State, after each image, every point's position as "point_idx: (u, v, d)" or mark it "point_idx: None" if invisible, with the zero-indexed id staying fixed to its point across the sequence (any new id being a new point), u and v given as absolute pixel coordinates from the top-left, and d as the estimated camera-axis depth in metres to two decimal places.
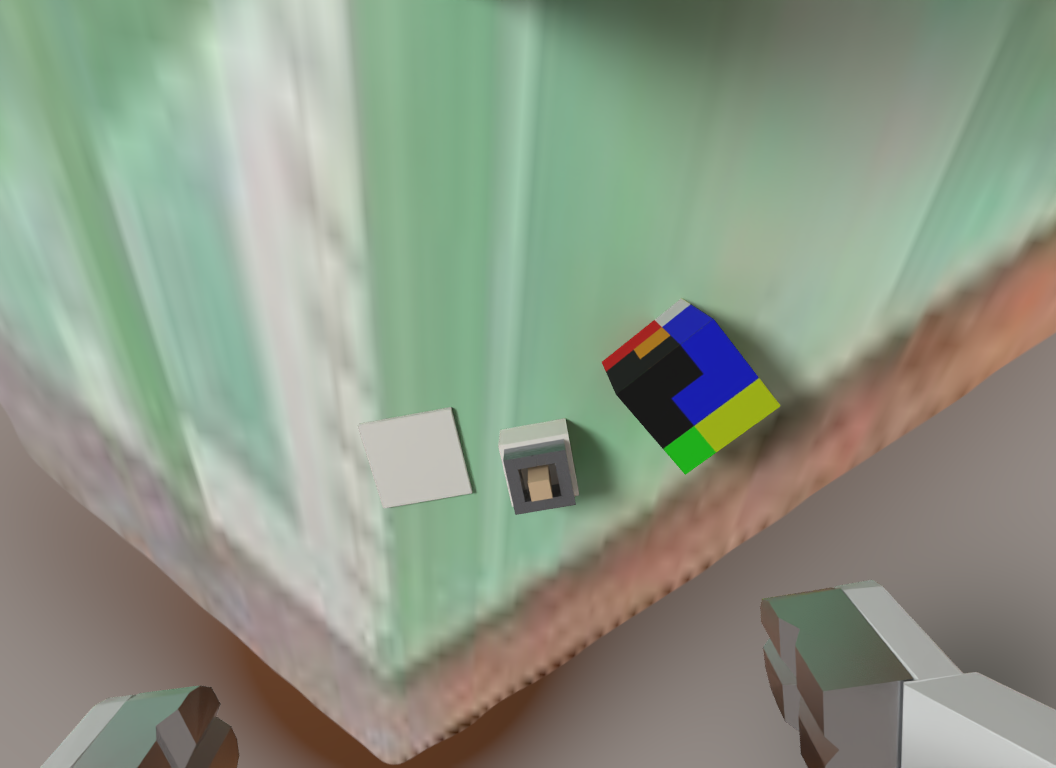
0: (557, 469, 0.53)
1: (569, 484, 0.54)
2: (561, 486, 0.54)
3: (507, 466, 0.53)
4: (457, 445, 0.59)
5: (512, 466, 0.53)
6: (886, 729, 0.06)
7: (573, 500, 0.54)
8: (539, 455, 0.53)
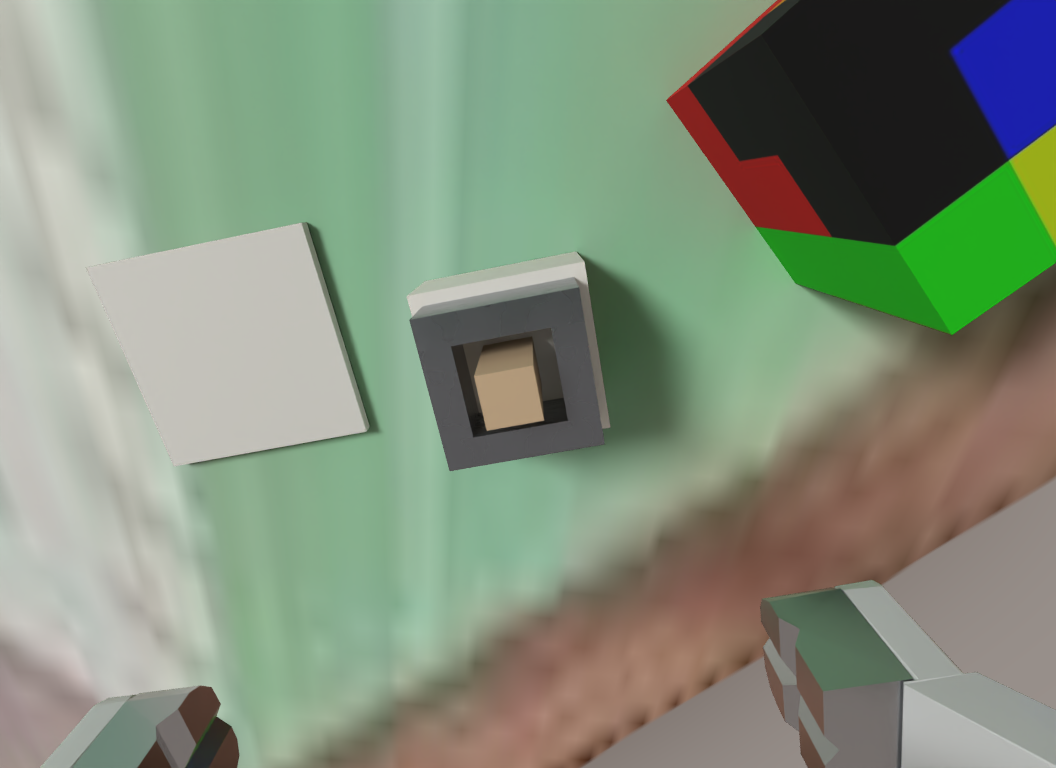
0: (557, 346, 0.20)
1: (588, 389, 0.20)
2: (568, 394, 0.20)
3: (422, 337, 0.20)
4: (325, 317, 0.25)
5: (435, 337, 0.20)
6: (885, 729, 0.06)
7: (599, 432, 0.21)
8: (507, 305, 0.19)
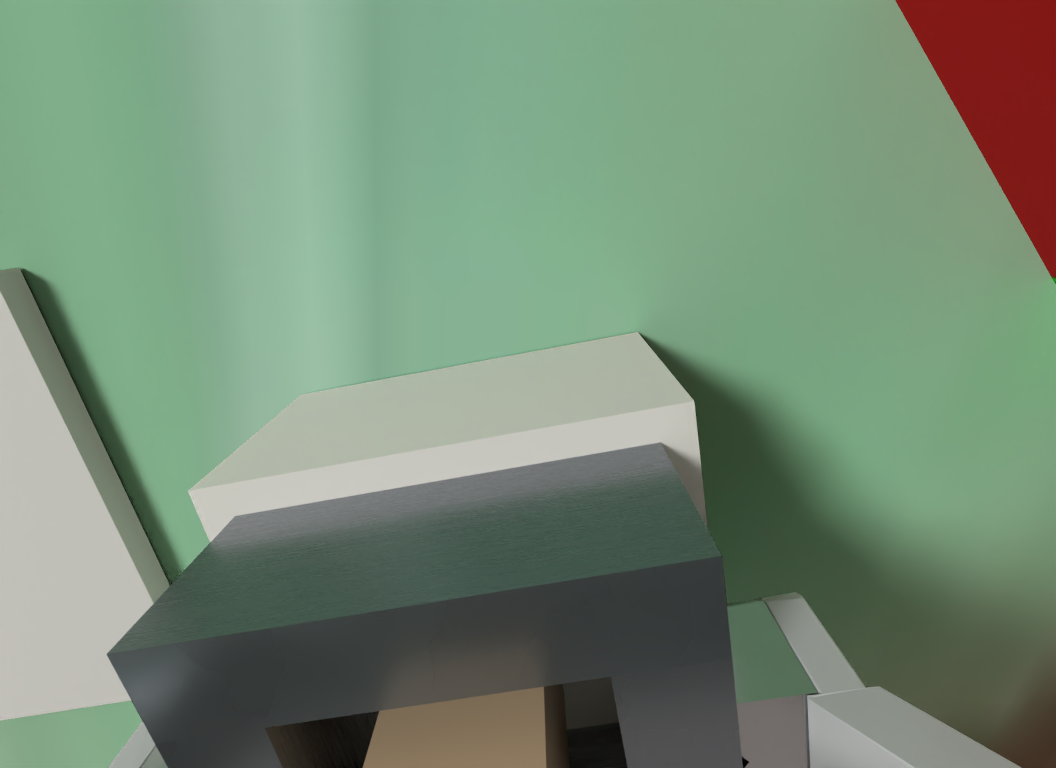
0: (631, 727, 0.06)
1: None
2: None
3: (161, 703, 0.06)
4: (79, 475, 0.11)
5: (208, 703, 0.06)
6: (793, 742, 0.06)
7: None
8: (454, 610, 0.05)
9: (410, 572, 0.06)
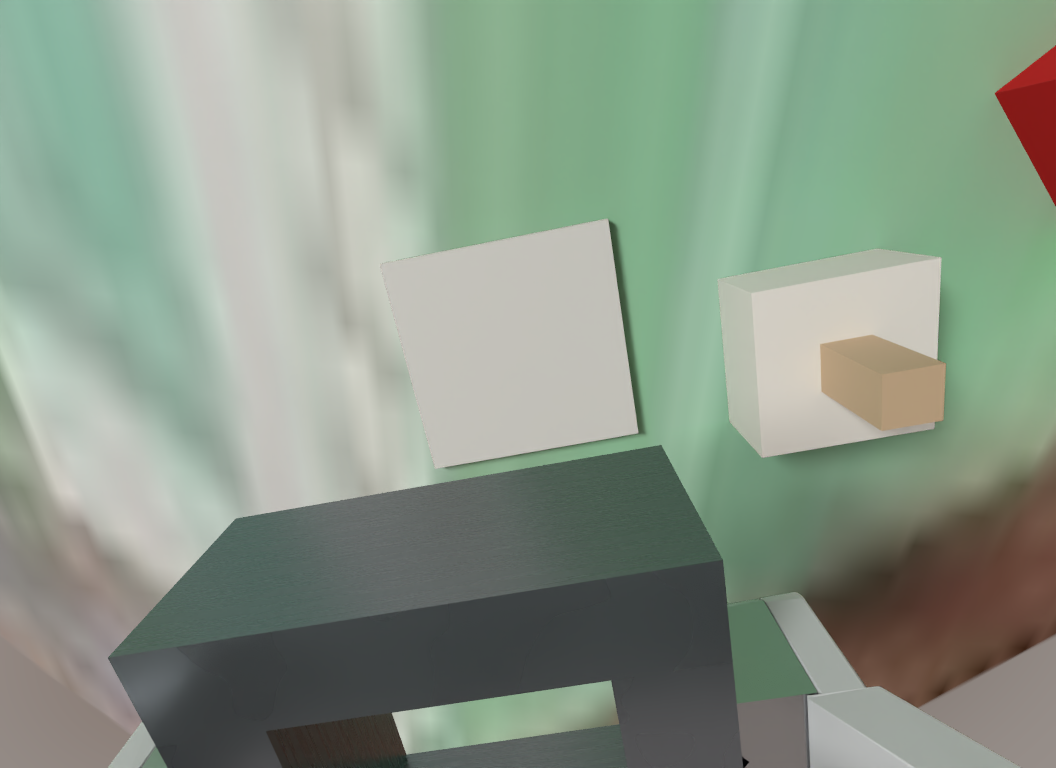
0: (631, 730, 0.06)
1: None
2: None
3: (162, 706, 0.06)
4: (616, 315, 0.25)
5: (210, 706, 0.06)
6: (793, 742, 0.06)
7: None
8: (456, 614, 0.05)
9: (411, 576, 0.06)
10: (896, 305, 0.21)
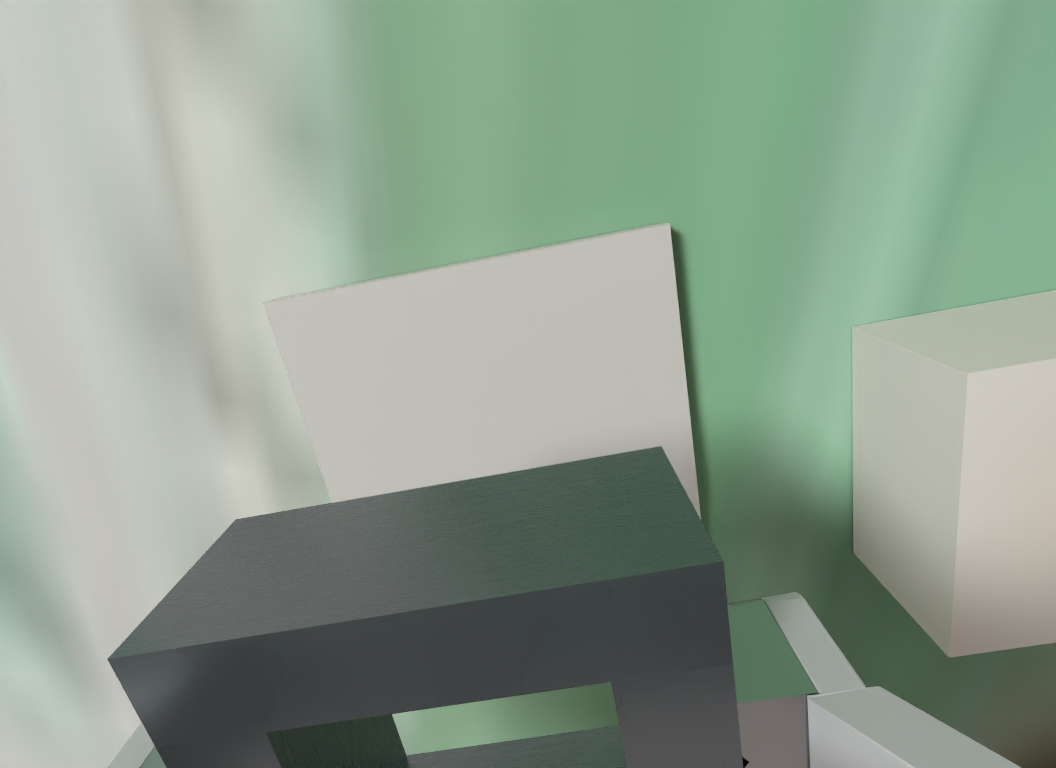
0: (632, 732, 0.06)
1: None
2: None
3: (162, 708, 0.06)
4: (677, 390, 0.14)
5: (209, 707, 0.06)
6: (793, 742, 0.06)
7: None
8: (455, 615, 0.05)
9: (411, 577, 0.06)
10: None
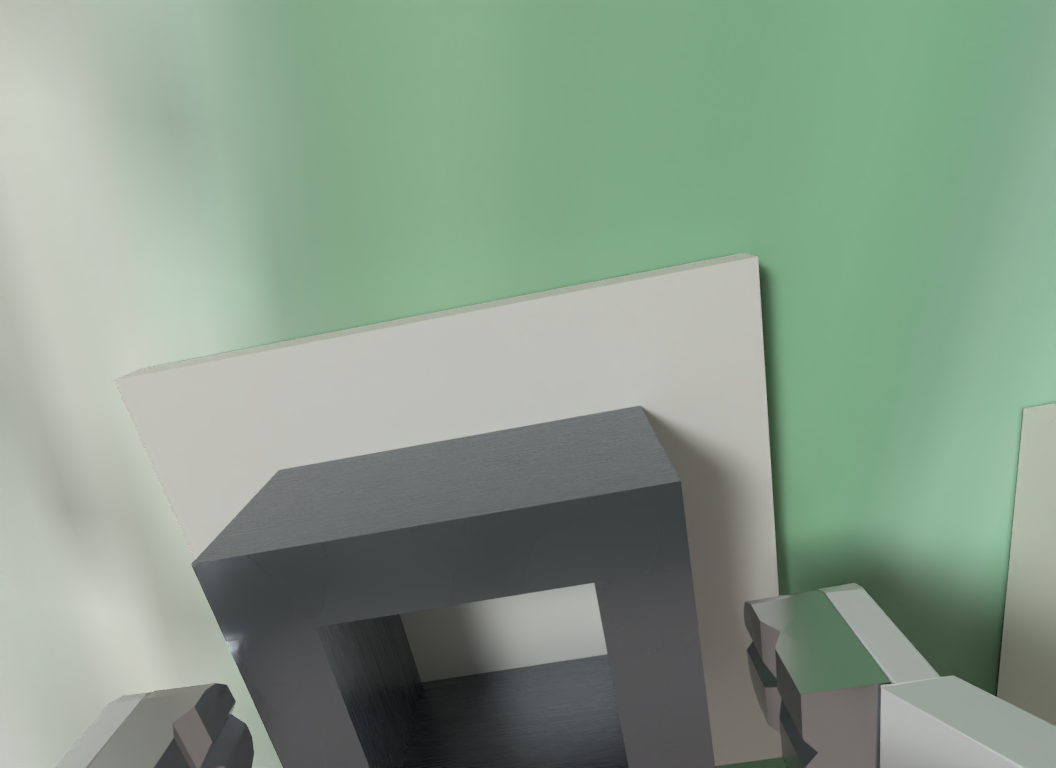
0: (611, 626, 0.07)
1: (690, 724, 0.08)
2: (635, 734, 0.08)
3: (233, 606, 0.07)
4: (758, 506, 0.09)
5: (271, 606, 0.07)
6: (864, 732, 0.06)
7: None
8: (469, 527, 0.07)
9: (433, 501, 0.07)
10: None
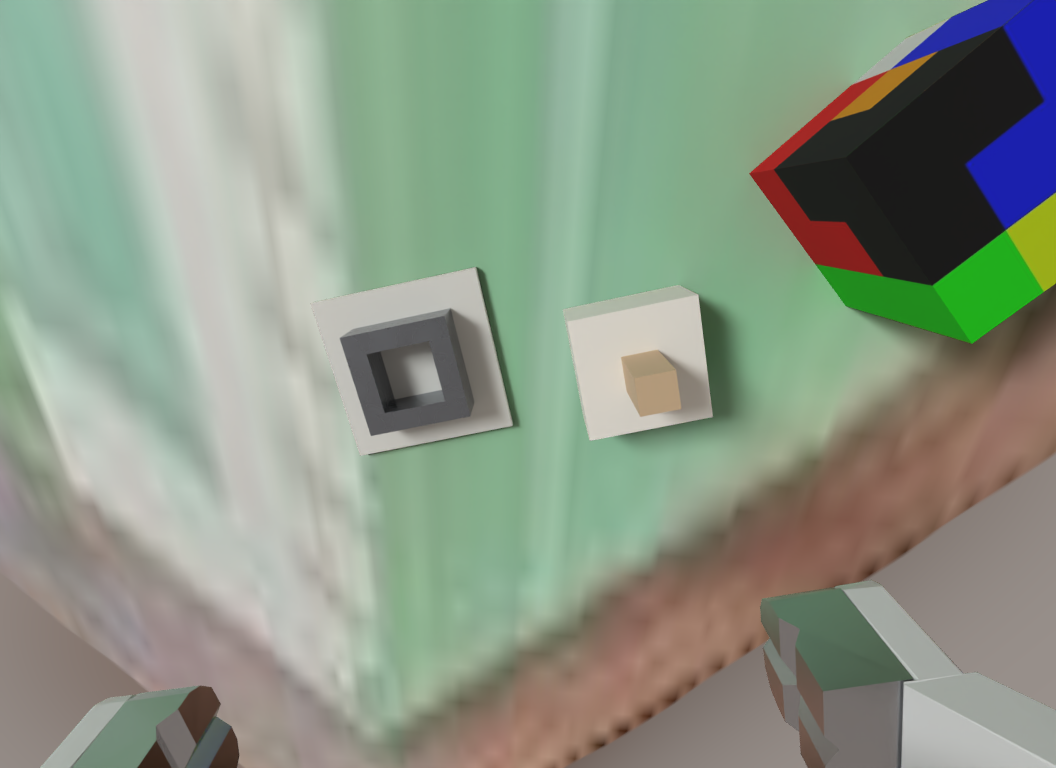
0: (434, 352, 0.31)
1: (456, 380, 0.32)
2: (443, 383, 0.32)
3: (348, 348, 0.31)
4: (487, 337, 0.33)
5: (356, 348, 0.31)
6: (886, 729, 0.06)
7: (466, 408, 0.32)
8: (400, 327, 0.31)
9: (393, 325, 0.31)
10: (672, 328, 0.30)
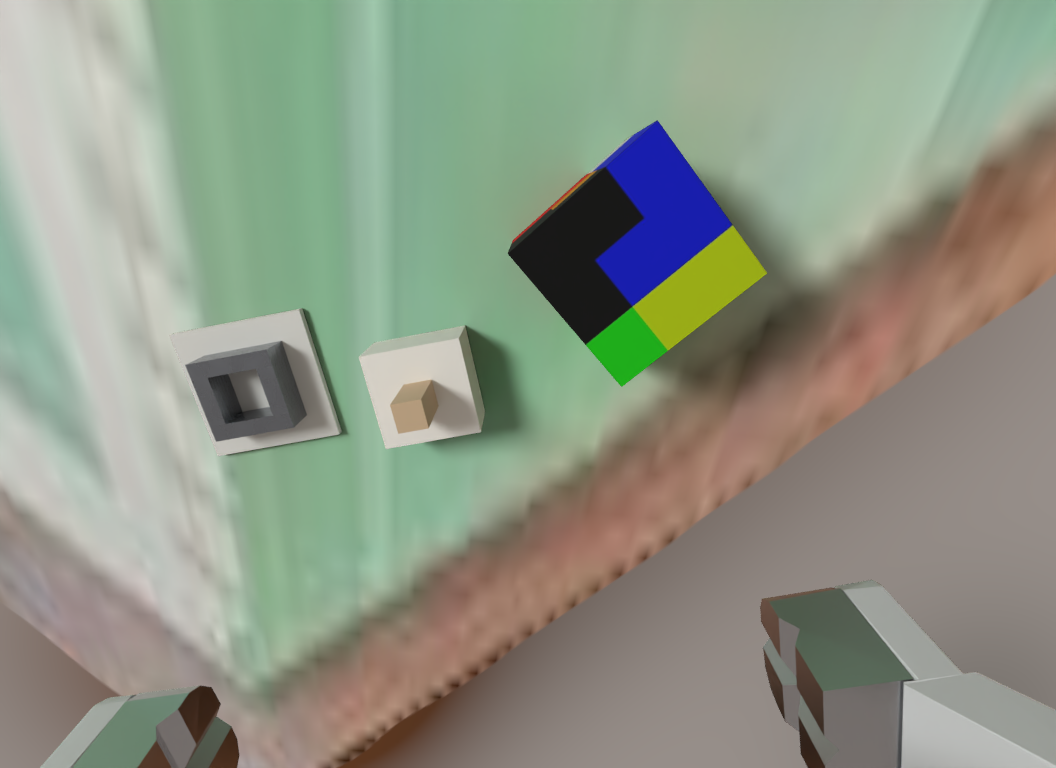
0: (260, 377, 0.39)
1: (280, 399, 0.40)
2: (270, 402, 0.40)
3: (192, 373, 0.39)
4: (313, 364, 0.42)
5: (199, 373, 0.39)
6: (886, 729, 0.06)
7: (290, 421, 0.40)
8: (232, 357, 0.39)
9: (228, 355, 0.39)
10: (441, 363, 0.38)
